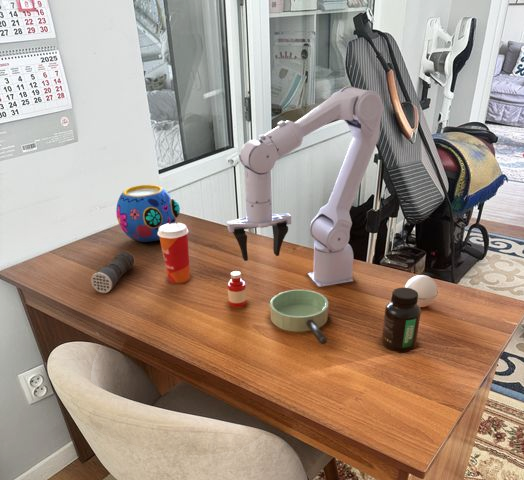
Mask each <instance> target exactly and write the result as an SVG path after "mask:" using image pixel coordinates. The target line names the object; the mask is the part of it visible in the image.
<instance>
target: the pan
mask: <svg viewBox="0 0 524 480" xmlns="http://www.w3.org/2000/svg"><path fill="white" fill-rule="evenodd" d="M329 305H330V304H329V300H328V298H326V296H325V295H323V294H322V293H319V292H317V291H314V290H310V289H290V290H285V291H282V292H279V293H278V294H275V295H274V296H272V298H271V300H270V302H269V306H270V307H269V308H270V309H269V311H270V321H271V322H272V324H274V326H276V327H277V328H279V329H281V330H284V331H288V332H295V333H296V332H297V333H301V332H311V330H310V329H309V327H308V326H307V321H308V320H313V321H314V323H315V324H316V325H317V327H318V328H319V329H320V328H321V327H323V326H324V325H325V324H326V323H327V321H328V318H329Z"/></svg>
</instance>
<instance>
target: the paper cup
mask: <svg viewBox="0 0 524 480" xmlns="http://www.w3.org/2000/svg"><path fill="white" fill-rule="evenodd" d="M189 232H190V231H189V229H188V227H187V225H186V224H185V223H183V222H177V223H176V222H175V223H171V224H169V223H167V224H164V225H162V226H160V227H159V231H158V236H159V237H160V240H159V241H160V246H161V251H162V256H163V260H164V264H165V271H166V275H167V277H168V281H169V282H170V283H173V284H183V283H186V282H188V281H189V280H190V279H191V270H190V253H189V252H190V251H189V237H188V233H189Z"/></svg>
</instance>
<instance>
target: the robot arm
mask: <svg viewBox="0 0 524 480" xmlns="http://www.w3.org/2000/svg"><path fill="white" fill-rule="evenodd" d="M384 111H385V106H384V104H383V101H382V97H381V96H380V94H379V93H378V92H376V91H375V90H369V89H363V88H358V87H356V86H352V85H347V86H343V88H341V89H340V90H338V91H335V92H333V93H332V94H331V96H329V98H327V99H326V100H325V101H323V102H322V103H320V104H319V105H317V106H316V107H314V108H313V109H311V110H310V111H309V112H308V113H306V114H305V115H303V116H302V117H301V118H299V119H298V120H296V121H291V120H286V121H284V120H280V121H278V122H277V123H276V125H277V126H276V127H275V128H273V129H271V130H269V131H268V132H266V133H265V134H264V133H261V134H259V135H258V139H257V140H256V139H251V140H248V141H246V142H245V143H244V144H243V146H242V147H241V149H240V154H238V159H239V162H240V163H241V165H243V170H244V171H243V174H244V190H245V191H244V195H245V212H246V213H245V214H246V216H245V217H241V218H237V219H234V220H229V221H226V224H227V225H226V226H227V231H228V232H229V233H230V234H231V233H233V236H234V238H235V239H236V242H237V244H238V246H239V250H240V252H241V257H242V259H243V261H244V262H247V261H248V260H249V258H248V257H249V256H248V255H249V254H248V235H247V234H246V230H252V229H259V228H260V229H263V228H268V227H272V228H271V229H272V236H273V237H272V239H273V247H272V248H273V254H274V255H275V256H276V257H279V256H280V253H281V249H282V245H283V242H284V239H285V237H286V236H287V234H288V232H289V226H288V225H292V215H291V214H290V213H289V212H288V213H273V202H272V169H273V168H274V167H275V165H276V162H277V161H278V160H281V159H282V158H283V157H285V156H287V155H289V154H290V153H291V152H293V151H294V150H296V149H298V148H299V147H301V145H302V143H303V140H304V138H305V137H306V136H308V135H310V134H311V133H313V132H315V131H317V130H319V129H320V128H323V127H324V126H326V125H328V124H330V123H331V122H333V121H335V120H340V121H344V122H345V123H346V124H347V126H348V129H349V131H350V133H351V135H352V139H351V141H350V144H349V146H348V149H347V152H346V155H345V158H344V160H343V163H342V166H341V167H340V170H339V173H338V176H337V178H336V181H335V184H334V186H333V189H332V191H331V194H330V196H329V199H328V201H327V204H325V205H323V206H322V207H321V208H319V210H318V213H317V214H316V216H315V217H314V218H313V219H312V220H311V222H310V225H309V234H310V236H311V237H312V238H313V272H308V273H307V275H308V276H309V278H310V279H311V280H312V281H313V283H315V285H316V286H317V287H319V288H320V287H326V286H327V287H328V286H332V285H333V286H334V285H338V284H344V283H345V284H346V283H351V282H354V279H353V271H354V259H355V258H354V251H353V248H352V246H351V244H349V241H350V238H351V234H350V233H351V228H352V225H353V221H352V218H351V215H350V214H351V213H350V210H351V208H352V206H353V204H354V201H355V199H356V196H357V194H358V191H359V189H360V186H361V184H362V181H363V178H364V176H365V174H366V171H367V169H368V167H369V164H370V161H371V159H372V156H373V153H374V151H375V149H376V147H377V144H378V141H379V138H380V133H381V118H382V116H383V114H384Z"/></svg>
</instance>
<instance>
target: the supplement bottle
mask: <svg viewBox="0 0 524 480" xmlns="http://www.w3.org/2000/svg"><path fill="white" fill-rule="evenodd" d="M390 297H391V298H390V301H389V302H388V303H387V304H386V305H385V308H384V315H383V325H382V333H381V334H382V335H381V344H382V346H383V347H384V348H385V349H387V350H389V351H392V352H396V354H407V353H410V352H412V351H413V350H414V349H415V348H416V345H417V341H418V333H419V328H420V321H421V314H422V309H421V307H419V305H418V304H417V302H418V293H417V291H415V290H414V289H410V288H405V286H404V287H397V288H395V289H393V290H392V293H391V296H390Z"/></svg>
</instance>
